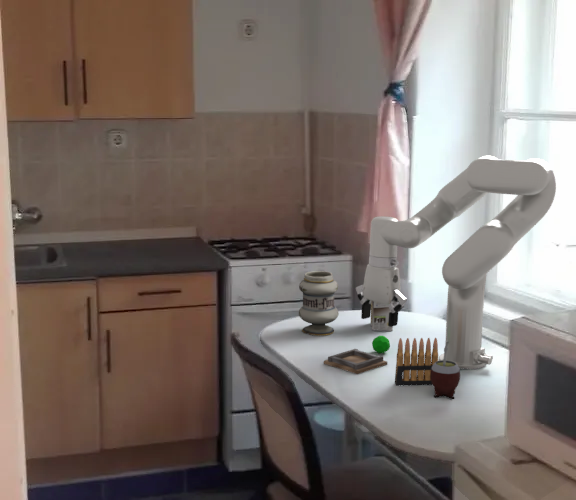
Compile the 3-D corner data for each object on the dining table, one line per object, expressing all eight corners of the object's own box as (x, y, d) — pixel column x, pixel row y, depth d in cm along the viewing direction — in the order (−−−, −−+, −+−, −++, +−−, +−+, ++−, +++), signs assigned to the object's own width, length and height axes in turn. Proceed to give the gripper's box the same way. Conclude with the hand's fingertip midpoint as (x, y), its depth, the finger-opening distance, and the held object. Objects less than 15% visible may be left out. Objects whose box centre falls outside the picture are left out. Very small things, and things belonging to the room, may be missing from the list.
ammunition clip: (436, 382, 215) (438, 336, 212) (438, 385, 213) (440, 338, 211) (394, 383, 214) (396, 337, 212) (396, 385, 212) (397, 339, 210)
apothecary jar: (290, 331, 259) (290, 273, 256) (315, 323, 268) (316, 267, 265) (321, 339, 252) (322, 279, 248) (346, 330, 261) (347, 273, 257)
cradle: (387, 364, 229) (387, 357, 228) (357, 374, 220) (357, 366, 220) (353, 354, 237) (353, 347, 237) (323, 363, 229) (324, 356, 228)
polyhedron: (370, 350, 241) (371, 333, 240) (388, 350, 242) (388, 333, 241) (373, 355, 236) (373, 338, 236) (391, 355, 237) (391, 338, 236)
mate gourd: (445, 388, 210) (447, 329, 207) (468, 398, 204) (471, 337, 201) (422, 394, 206) (424, 334, 203) (444, 404, 200) (447, 342, 197)
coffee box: (393, 331, 261) (395, 279, 258) (372, 330, 261) (373, 279, 258) (390, 323, 270) (392, 273, 267) (370, 323, 270) (371, 273, 267)
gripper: (416, 265, 231) (412, 326, 234) (367, 255, 243) (364, 313, 246) (399, 269, 226) (395, 331, 229) (350, 258, 238) (346, 317, 241)
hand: (379, 321), depth 238 cm, fingers open, 9 cm apart
